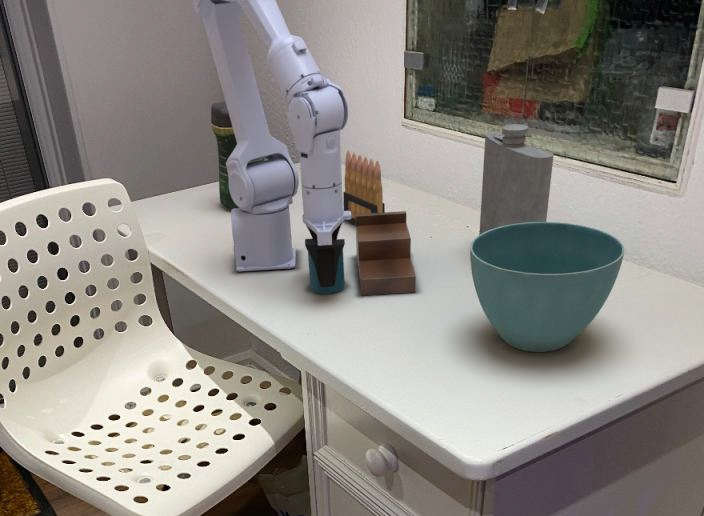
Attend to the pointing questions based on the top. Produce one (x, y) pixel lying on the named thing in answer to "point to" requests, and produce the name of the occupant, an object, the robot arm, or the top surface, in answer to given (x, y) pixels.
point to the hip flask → (514, 179)
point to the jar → (315, 283)
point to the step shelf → (384, 253)
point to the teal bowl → (543, 280)
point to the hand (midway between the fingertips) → (326, 276)
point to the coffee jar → (224, 149)
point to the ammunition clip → (362, 187)
